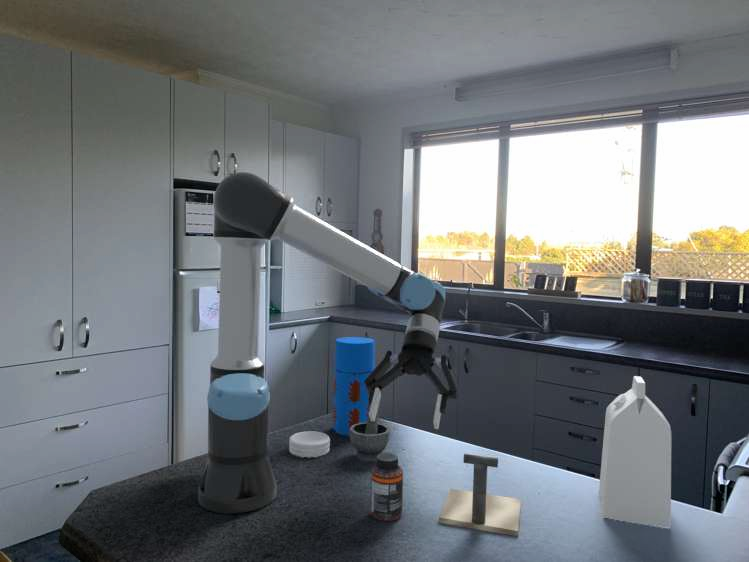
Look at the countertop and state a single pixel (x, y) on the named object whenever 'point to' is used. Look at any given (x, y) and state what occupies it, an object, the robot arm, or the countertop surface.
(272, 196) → the robot arm
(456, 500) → the headphone stand
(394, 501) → the supplement bottle
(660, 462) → the milk
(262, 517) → the countertop surface
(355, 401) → the thermos
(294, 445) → the white round container
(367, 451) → the mortar and pestle
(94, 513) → the countertop surface
